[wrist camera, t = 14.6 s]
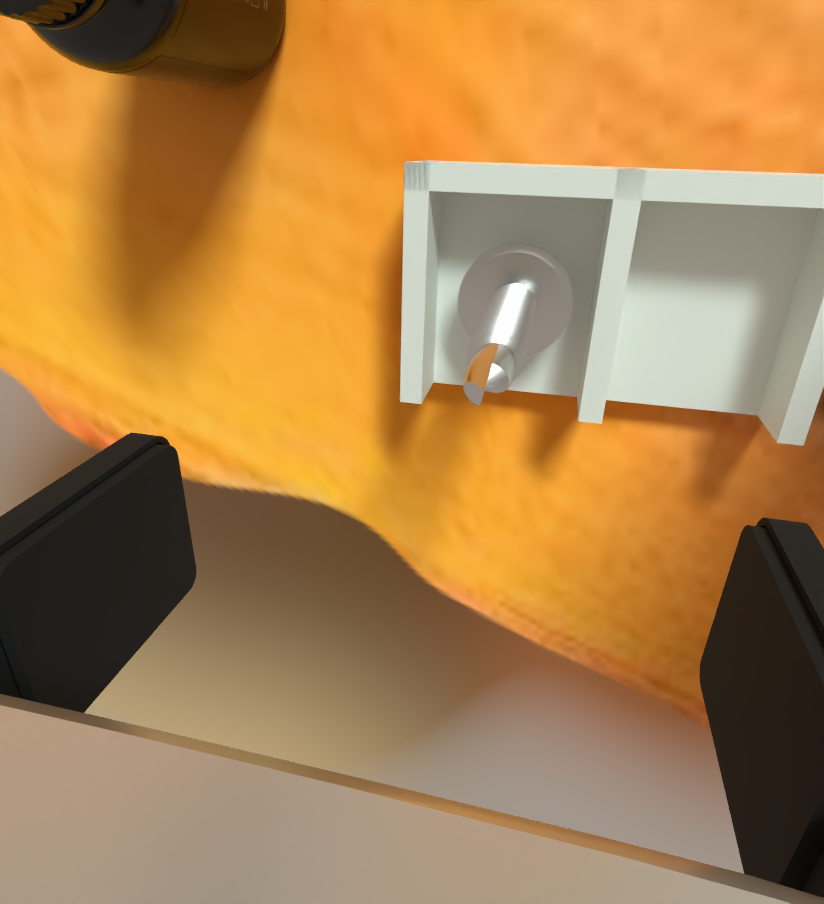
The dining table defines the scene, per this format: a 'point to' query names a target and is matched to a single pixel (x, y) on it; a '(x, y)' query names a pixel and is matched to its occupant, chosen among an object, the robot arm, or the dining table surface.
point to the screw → (510, 313)
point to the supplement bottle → (159, 36)
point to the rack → (632, 283)
